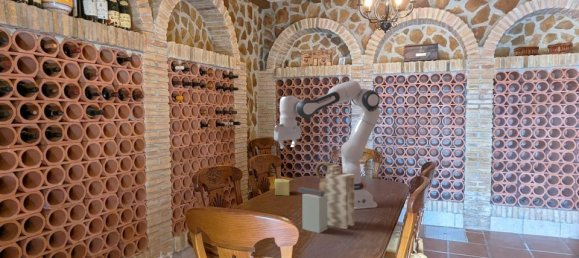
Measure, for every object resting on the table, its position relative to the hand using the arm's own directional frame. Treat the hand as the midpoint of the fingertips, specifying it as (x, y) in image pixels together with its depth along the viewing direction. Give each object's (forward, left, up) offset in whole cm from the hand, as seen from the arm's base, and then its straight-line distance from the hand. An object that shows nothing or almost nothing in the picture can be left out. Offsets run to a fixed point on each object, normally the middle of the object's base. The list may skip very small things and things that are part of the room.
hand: (287, 147), depth 204 cm
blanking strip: (-8, +29, -20) cm, 37 cm away
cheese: (0, -45, -37) cm, 58 cm away
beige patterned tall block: (-24, +26, -37) cm, 51 cm away
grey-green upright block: (-10, +31, -37) cm, 50 cm away
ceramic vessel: (-31, -23, -37) cm, 54 cm away
